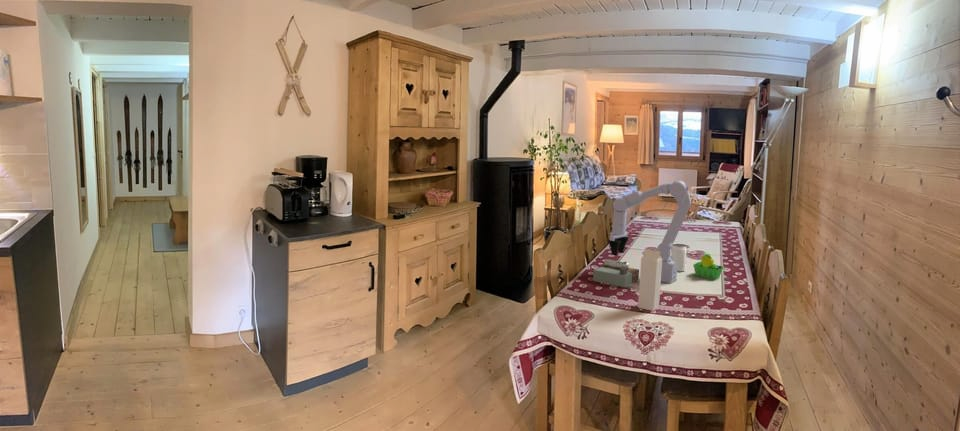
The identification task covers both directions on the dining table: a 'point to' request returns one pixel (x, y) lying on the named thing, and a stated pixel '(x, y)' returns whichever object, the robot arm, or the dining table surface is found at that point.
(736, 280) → the dining table surface
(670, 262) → the robot arm
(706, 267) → the fruit basket
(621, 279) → the grey-green rectangular block
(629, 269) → the jamb
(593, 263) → the dining table surface
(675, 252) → the can
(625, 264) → the lock bar
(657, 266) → the milk
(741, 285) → the dining table surface
